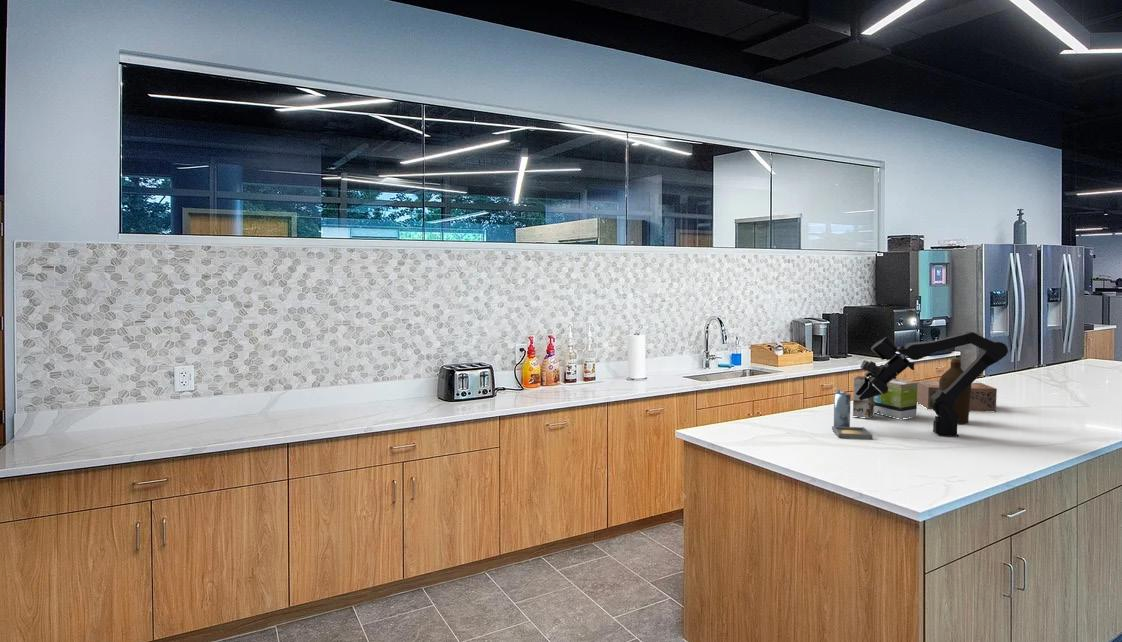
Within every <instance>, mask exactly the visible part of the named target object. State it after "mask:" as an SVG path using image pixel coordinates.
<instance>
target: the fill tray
mask: <svg viewBox="0 0 1122 642" xmlns="http://www.w3.org/2000/svg"><path fill="white" fill-rule="evenodd" d="M832 430H833V431H832ZM831 431H832V432H833V433H834V434H835V436H836V437H837V436H838V437H837V438H838V439H849V438H855V439H854V440H873V433H871V432H870V431H868V429H867V428H865V427H864V426H863V427H860V426H850V427H837V426H834V425H832V426H831ZM856 438H857V439H856Z"/></svg>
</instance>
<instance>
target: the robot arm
mask: <svg viewBox="0 0 1122 642" xmlns="http://www.w3.org/2000/svg"><path fill="white" fill-rule="evenodd" d="M970 344H971V345H973V346H974V347H977V348H979V349H980V350H979V351H978V354H977V356H976V358H975V359H974V361H972V362H971V363H970V365H968V366H967V368H965V370H963V371H964V372H963V373H962V374H961V375H960V376H959V377H958V378H957V379H956V380H955V381H954V382H953V383H952V384H951V385H950V386H949V387H948V388H947V389H945V390H943V391H941V390H940V389H938V390H937V391H936V392H935V394H934V395H932V396H930V397H931V399H930V401H929V404H930V407H931V408H932V409H933V410H932V411H933V412H935V417H934V420H933V426H932V432H933V433H934V434H936V435H937V436H939V437H960V435H959V434H958V424H957V421H958V416H959V415H958V414H957V413H956V412H955V411H954V410H953V409H952V408H953V407H954V405H955V403H956V401H957V399H958V397H959V396H960V395H961V393H962V392H963V391H964V390H965V389H966V388H967V387H968V386H969V385H970V384H971V383H974V382H975V380H976V379H978V378H979V377H980V375H981V374H983V372H985V370H987V368H988V367H990V366H993V365H994V364H996V363H998V362H999V361H1000V360H1002V359H1003V358H1005V357H1006V356H1007V354H1008V353H1009V349H1008V346H1007V345H1006V344H1005V343H1003V342H1001V341H998V340H993V339H992V340H991V339H989V338H986V337H983V336H981V335H979V334H978V333H977V332H974V331H966V332H964V333H963V332H962V333H959V334H955V335H952V336H947V337H943V338H940V339H939V338H938V339H936V340H931V341H917V342H915V341H914V342H909V343H906V344H905V345H902V346H896V345H894V343H892V342H891V340H890V339H889V338H888V337H883V338H882V339H880V340H878V341H877V342H875V343H874V344H873V345H872V346H871V348H870V350H871V351H872V352H874V354H875V355H877V356H878V357H879V358H880V359H881V360H882V361H884V360H886V361H887V362H886V363H885V364H881V365H876V364H877V363H876V362H874V361H872V360H871V361H867V360H866V359H863V361H862V363H861V365H860V367H859V368H861V369H862V370H864V371H866V372H865V374H864V383H863V384H862V386H861V387H860V388H859V390H858V391H857V392H856V395H857V396H859V395H861V396H860V397H859V399H860V400H864V399H867V398H870V397H874V396H878V395H882V393H883V394H885V393H886V392H888V387H887V384H888V383H889V382H890V381H891V380H892V379H898V378H897V377H898V376H899V375H900V374H901V373H902V372H904V370H906V369H908V368H909V369H910V370H911V371H914V370H915V362H913V361H918V360H921V359H924V358H926V357H928V356H930V355H931V354H934V353H936V352H940V351H944V350H950V349H954V348H957V347H961V346H966V345H970ZM899 354H900V355H899ZM901 356H902V357H901ZM906 357H907V358H909V359H910V360H912V361H909V359H907V358H906ZM865 376H866V377H865ZM881 392H882V393H881Z"/></svg>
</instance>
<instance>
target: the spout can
mask: <svg viewBox="0 0 1122 642" xmlns="http://www.w3.org/2000/svg"><path fill="white" fill-rule="evenodd" d="M834 389H835V391H836V392H834V397H833V426H837V427H851V426H850V425H851V393H848V392H846V391H841V390H840V388H838V386H836V387H834Z"/></svg>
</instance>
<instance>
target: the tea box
mask: <svg viewBox="0 0 1122 642" xmlns="http://www.w3.org/2000/svg"><path fill="white" fill-rule="evenodd" d="M917 382H918V381H910V380H905V379H904V380H903V379H900V378H899V379H898V378H896V379H892V380H891V381H890V382H889V383H888V384H887V387H888V392H886V393H885V394H883V393H882V392H881V393H882V395H878V396H874V413H879V414H883V415H887V416H891V417H895V418H899V419H903V418H909V417H915V418H917V413H918V412H917V411H918V410H917V408H918V406H917V405H918V404H917ZM883 415H882V416H883Z"/></svg>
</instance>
